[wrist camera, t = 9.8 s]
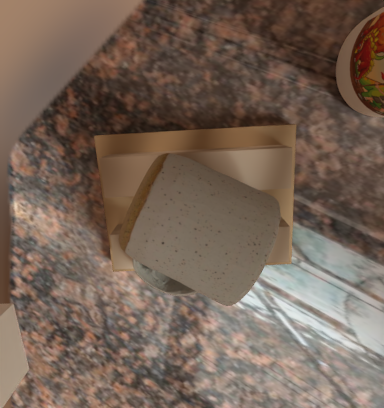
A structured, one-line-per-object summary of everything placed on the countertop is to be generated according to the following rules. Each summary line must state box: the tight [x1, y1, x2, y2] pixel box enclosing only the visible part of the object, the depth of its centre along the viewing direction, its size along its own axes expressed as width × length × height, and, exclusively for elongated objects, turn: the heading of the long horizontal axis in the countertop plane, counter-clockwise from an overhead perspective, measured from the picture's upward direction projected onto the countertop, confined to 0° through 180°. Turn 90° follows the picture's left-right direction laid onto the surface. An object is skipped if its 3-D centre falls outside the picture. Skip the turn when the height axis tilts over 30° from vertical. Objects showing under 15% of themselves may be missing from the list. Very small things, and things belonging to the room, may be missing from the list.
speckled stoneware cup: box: [118, 153, 281, 306], centre depth 20 cm, size 11×8×8 cm
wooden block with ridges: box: [94, 124, 296, 272], centre depth 25 cm, size 16×12×4 cm
